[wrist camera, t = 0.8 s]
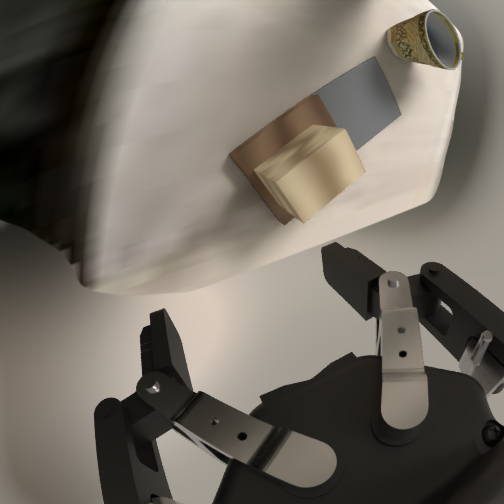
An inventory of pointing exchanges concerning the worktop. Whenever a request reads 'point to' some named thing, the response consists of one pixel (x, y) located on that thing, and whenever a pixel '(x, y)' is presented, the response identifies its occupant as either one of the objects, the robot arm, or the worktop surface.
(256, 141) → the brown flat slab
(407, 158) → the worktop surface
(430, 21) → the ceramic cup
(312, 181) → the block
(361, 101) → the mat
